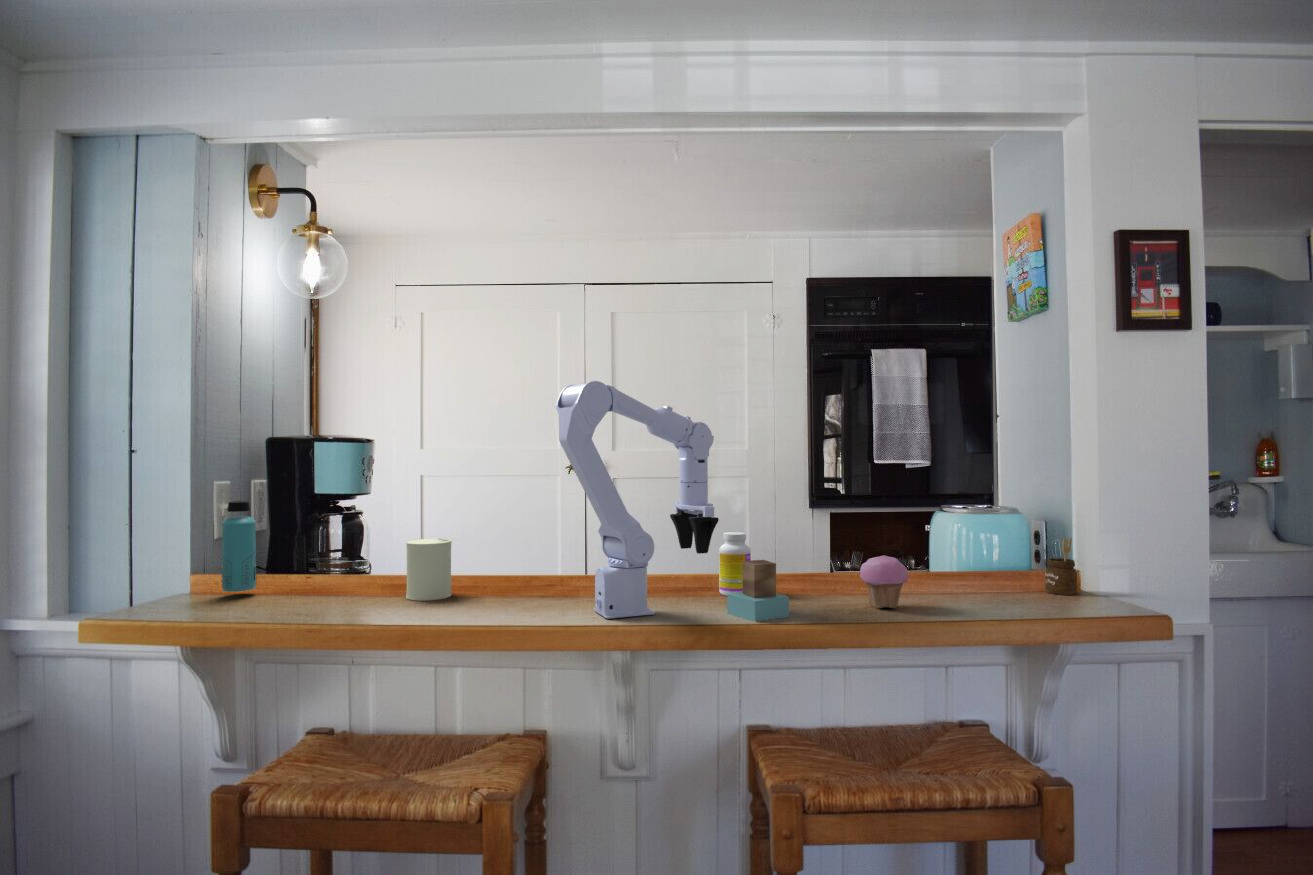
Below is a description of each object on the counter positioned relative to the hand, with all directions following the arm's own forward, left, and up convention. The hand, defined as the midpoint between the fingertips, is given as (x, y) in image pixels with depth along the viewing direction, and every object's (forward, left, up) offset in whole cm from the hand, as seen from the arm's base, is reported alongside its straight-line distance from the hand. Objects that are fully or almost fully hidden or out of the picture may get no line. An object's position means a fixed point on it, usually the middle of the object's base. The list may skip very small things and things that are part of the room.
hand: (693, 550), depth 146 cm
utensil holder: (+76, -21, -11) cm, 79 cm away
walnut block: (+7, -14, -7) cm, 17 cm away
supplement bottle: (+12, +5, -11) cm, 17 cm away
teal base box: (+6, -14, -11) cm, 19 cm away
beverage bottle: (-85, +44, -11) cm, 96 cm away
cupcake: (+32, -18, -11) cm, 38 cm away
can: (-48, +28, -11) cm, 57 cm away
